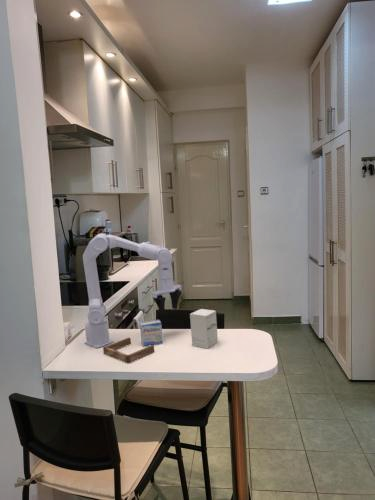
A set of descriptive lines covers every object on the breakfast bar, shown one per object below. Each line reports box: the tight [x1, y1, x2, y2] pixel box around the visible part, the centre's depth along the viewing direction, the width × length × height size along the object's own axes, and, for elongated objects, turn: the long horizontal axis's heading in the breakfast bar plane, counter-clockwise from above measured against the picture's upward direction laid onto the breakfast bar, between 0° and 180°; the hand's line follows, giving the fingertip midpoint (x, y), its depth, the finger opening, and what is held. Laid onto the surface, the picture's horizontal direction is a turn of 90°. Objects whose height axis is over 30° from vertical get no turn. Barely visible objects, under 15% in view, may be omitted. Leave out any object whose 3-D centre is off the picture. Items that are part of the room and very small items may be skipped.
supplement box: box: [189, 308, 219, 349], centre depth 155 cm, size 7×7×13 cm
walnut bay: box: [102, 337, 155, 364], centre depth 153 cm, size 15×12×2 cm
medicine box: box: [139, 319, 164, 347], centre depth 160 cm, size 8×4×9 cm, turn 105°
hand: (168, 310), depth 166 cm, fingers open, 6 cm apart
